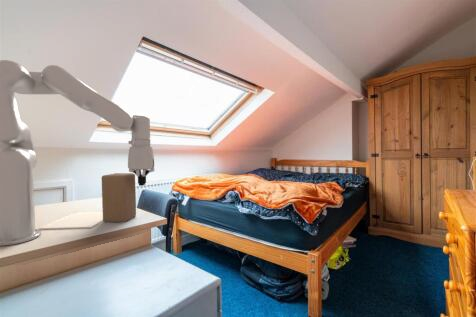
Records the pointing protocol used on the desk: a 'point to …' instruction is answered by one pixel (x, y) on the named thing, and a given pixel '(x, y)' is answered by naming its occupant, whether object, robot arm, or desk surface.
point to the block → (118, 197)
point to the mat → (76, 221)
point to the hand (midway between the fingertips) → (142, 185)
